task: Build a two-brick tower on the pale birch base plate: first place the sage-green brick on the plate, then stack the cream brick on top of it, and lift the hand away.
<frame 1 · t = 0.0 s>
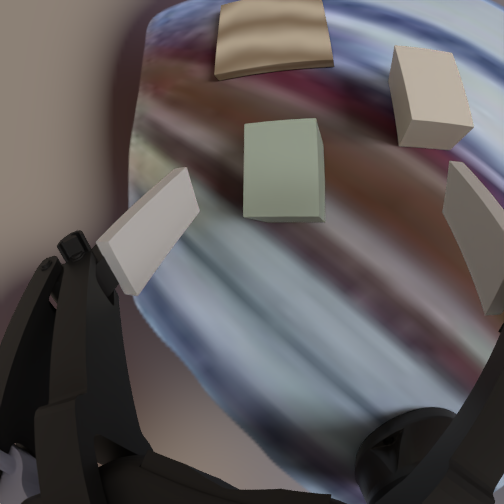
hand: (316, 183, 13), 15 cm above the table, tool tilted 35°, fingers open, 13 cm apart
base plate: (273, 31, 28), on the table
sage brick: (295, 183, 28), on the table
cream brick: (419, 113, 23), on the table
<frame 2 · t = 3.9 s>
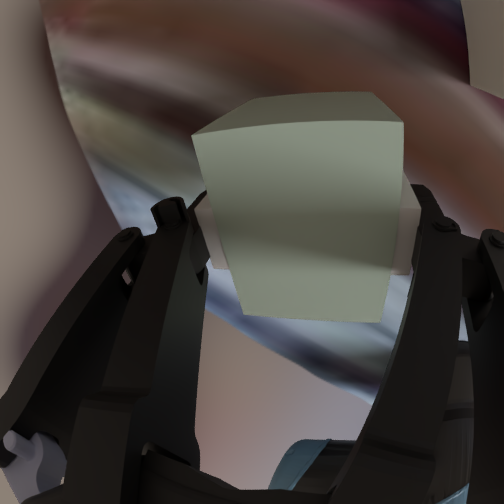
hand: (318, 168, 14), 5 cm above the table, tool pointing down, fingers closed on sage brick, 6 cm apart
sage brick: (319, 165, 14), point 5 cm above the table, touching gripper
cream brick: (499, 41, 8), on the table
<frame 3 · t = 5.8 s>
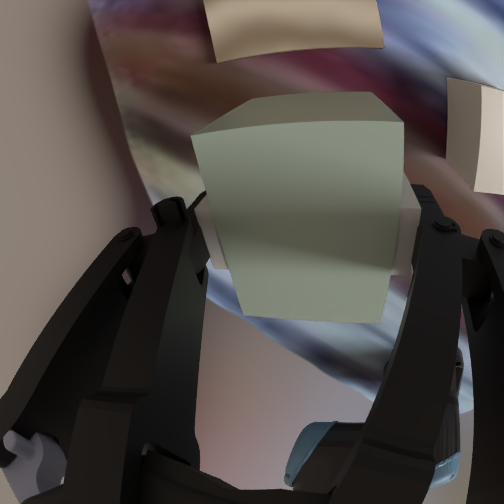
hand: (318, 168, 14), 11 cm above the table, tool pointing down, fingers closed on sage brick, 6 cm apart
sage brick: (319, 165, 14), point 11 cm above the table, touching gripper
cream brick: (473, 122, 18), on the table
when the fingers open (3 cm above the table, at t = 7.9 s): sage brick stays where it is, resting on base plate.
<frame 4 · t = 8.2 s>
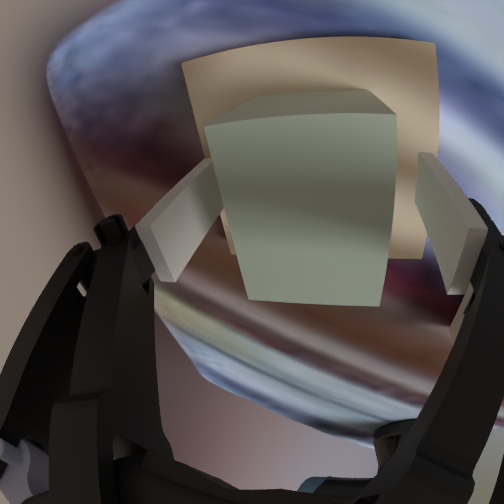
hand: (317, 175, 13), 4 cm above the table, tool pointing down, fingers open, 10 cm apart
base plate: (321, 151, 16), on the table
sage brick: (320, 159, 15), point 1 cm above the table, touching base plate
cream brick: (487, 299, 19), on the table
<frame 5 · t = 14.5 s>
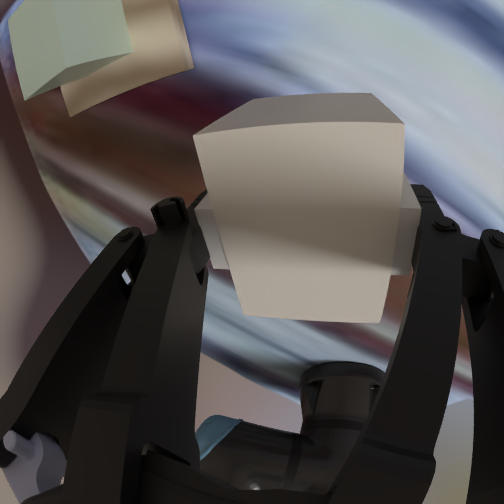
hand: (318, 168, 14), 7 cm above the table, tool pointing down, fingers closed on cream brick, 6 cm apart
base plate: (109, 26, 16), on the table
sage brick: (98, 27, 15), point 1 cm above the table, touching base plate
cream brick: (319, 166, 14), point 6 cm above the table, touching gripper
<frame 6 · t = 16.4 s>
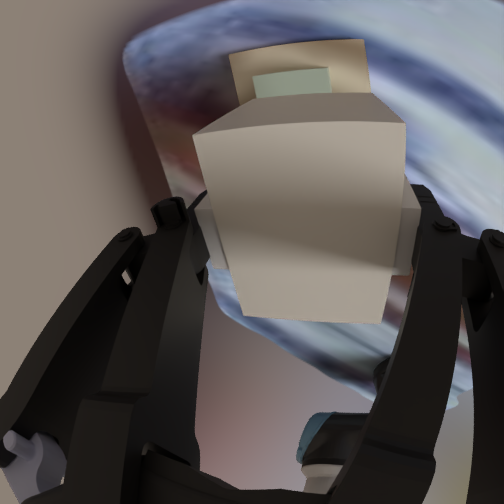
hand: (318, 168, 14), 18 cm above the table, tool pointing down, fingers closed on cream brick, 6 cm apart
base plate: (306, 103, 27), on the table
sage brick: (305, 105, 26), point 1 cm above the table, touching base plate
cream brick: (319, 166, 14), point 17 cm above the table, touching gripper
when the fingers open (10 cm above the table, at t = 18.3 s): cream brick stays where it is, resting on sage brick.
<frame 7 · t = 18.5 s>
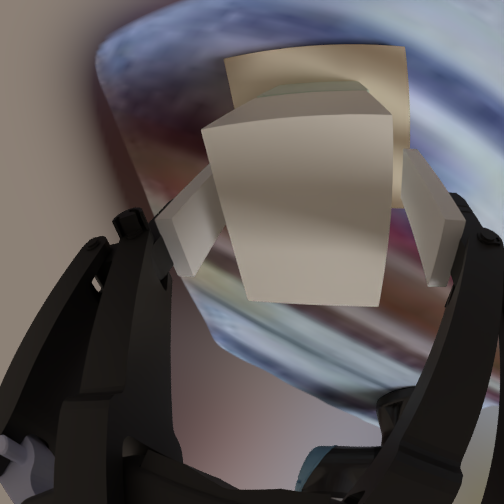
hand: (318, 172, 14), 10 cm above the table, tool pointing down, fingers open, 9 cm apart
base plate: (324, 126, 21), on the table
sage brick: (324, 130, 20), point 1 cm above the table, touching base plate, cream brick
cream brick: (318, 160, 15), point 8 cm above the table, touching sage brick
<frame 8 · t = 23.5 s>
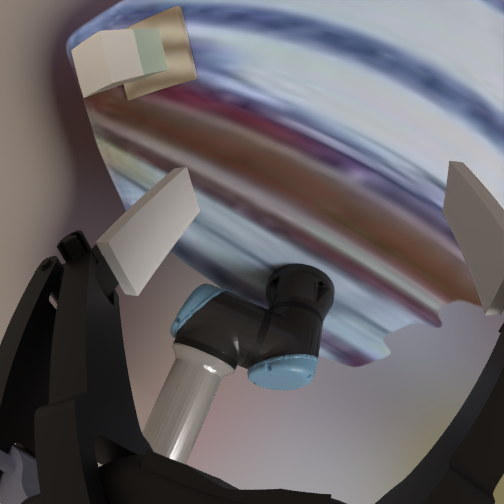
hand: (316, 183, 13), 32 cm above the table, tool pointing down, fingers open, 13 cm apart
base plate: (154, 54, 37), on the table
sage brick: (149, 54, 36), point 1 cm above the table, touching base plate, cream brick
cream brick: (122, 58, 31), point 8 cm above the table, touching sage brick
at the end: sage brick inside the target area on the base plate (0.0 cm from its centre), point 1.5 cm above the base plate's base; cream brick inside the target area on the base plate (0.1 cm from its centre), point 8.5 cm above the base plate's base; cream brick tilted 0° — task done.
